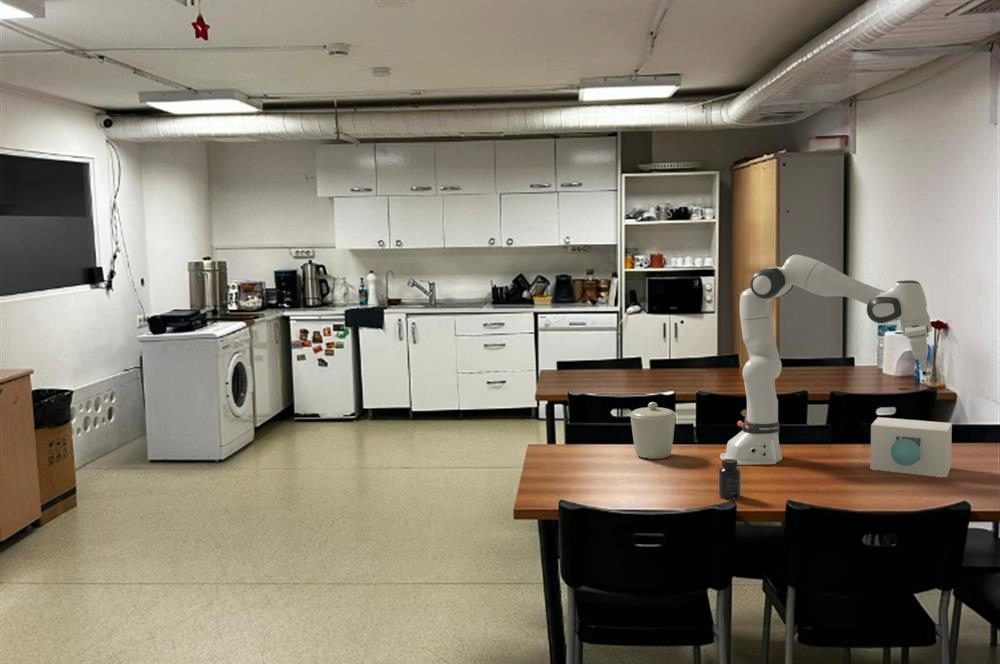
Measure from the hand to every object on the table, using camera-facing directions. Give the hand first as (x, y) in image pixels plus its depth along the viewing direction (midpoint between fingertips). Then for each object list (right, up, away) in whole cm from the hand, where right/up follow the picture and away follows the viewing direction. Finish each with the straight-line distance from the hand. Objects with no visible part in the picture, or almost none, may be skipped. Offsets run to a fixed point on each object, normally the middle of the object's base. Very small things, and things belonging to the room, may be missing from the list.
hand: (925, 369), depth 289 cm
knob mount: (+4, -36, +20) cm, 41 cm away
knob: (0, -32, +13) cm, 35 cm away
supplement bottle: (-66, -41, -6) cm, 78 cm away
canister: (-81, -36, +47) cm, 100 cm away
